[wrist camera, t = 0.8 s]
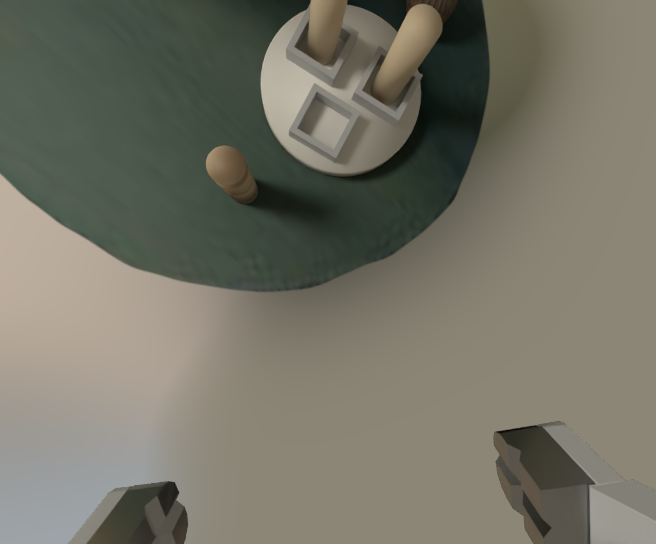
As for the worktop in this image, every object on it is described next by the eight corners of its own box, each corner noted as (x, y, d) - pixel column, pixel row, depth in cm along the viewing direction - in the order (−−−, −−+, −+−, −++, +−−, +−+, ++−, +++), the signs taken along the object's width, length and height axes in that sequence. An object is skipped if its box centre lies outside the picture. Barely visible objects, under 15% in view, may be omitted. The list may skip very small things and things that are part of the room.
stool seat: (233, 125, 44) (204, 57, 29) (309, -15, 44) (319, -158, 29) (370, 204, 47) (408, 181, 32) (439, 73, 47) (511, -12, 32)
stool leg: (225, 195, 45) (199, 172, 32) (238, 171, 45) (217, 138, 32) (250, 208, 45) (234, 191, 32) (262, 185, 45) (252, 158, 32)
